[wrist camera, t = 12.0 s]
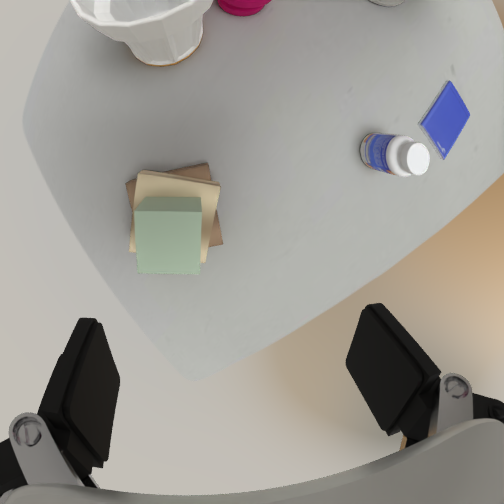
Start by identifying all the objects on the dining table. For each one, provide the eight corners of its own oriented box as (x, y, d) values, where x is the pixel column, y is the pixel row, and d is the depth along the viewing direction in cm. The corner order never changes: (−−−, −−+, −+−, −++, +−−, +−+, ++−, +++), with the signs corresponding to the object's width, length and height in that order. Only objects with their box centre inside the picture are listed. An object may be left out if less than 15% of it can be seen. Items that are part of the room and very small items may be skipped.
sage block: (145, 196, 28) (134, 211, 23) (200, 197, 30) (202, 212, 24) (146, 248, 31) (137, 273, 25) (199, 249, 32) (200, 274, 27)
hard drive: (444, 160, 38) (471, 115, 35) (421, 124, 35) (450, 80, 32) (438, 158, 39) (465, 114, 37) (415, 124, 36) (444, 80, 33)
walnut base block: (131, 179, 33) (125, 183, 30) (207, 162, 34) (208, 164, 31) (149, 250, 37) (146, 260, 34) (221, 235, 38) (223, 244, 36)
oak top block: (143, 169, 30) (137, 173, 27) (218, 182, 32) (220, 186, 30) (134, 242, 33) (129, 251, 30) (204, 252, 36) (205, 263, 33)
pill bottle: (362, 172, 37) (404, 186, 29) (356, 135, 35) (399, 140, 26) (391, 165, 38) (435, 177, 29) (385, 130, 35) (431, 135, 27)
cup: (116, 77, 27) (53, 40, 11) (129, 2, 22) (92, -67, 7) (206, 75, 29) (215, 24, 13) (217, 0, 25) (235, -79, 9)
